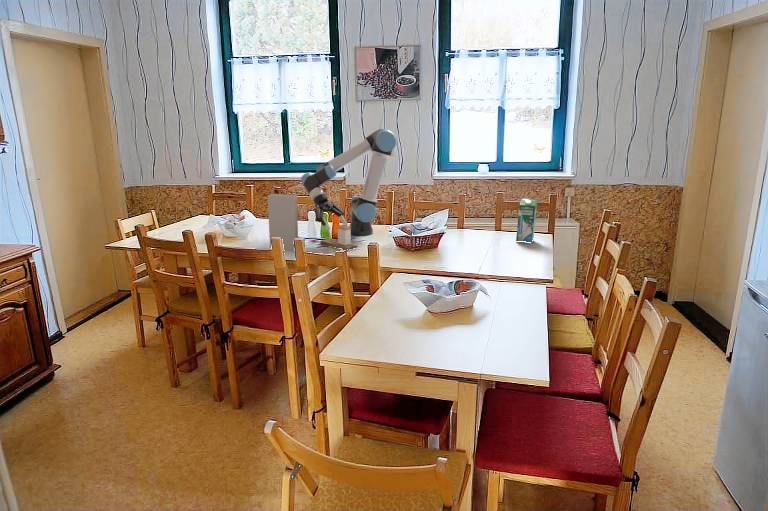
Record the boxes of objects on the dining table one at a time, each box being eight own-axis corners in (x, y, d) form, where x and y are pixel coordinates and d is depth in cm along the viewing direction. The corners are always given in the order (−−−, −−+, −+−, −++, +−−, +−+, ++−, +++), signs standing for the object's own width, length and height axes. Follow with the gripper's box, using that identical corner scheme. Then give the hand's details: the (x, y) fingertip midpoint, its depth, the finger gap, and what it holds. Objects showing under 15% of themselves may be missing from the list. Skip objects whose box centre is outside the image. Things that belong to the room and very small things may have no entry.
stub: (343, 242, 286) (342, 224, 283) (350, 244, 282) (350, 226, 279) (337, 243, 283) (337, 225, 280) (345, 245, 279) (345, 227, 276)
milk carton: (515, 242, 302) (519, 200, 295) (518, 238, 310) (521, 198, 303) (531, 244, 299) (535, 201, 292) (533, 240, 307) (537, 199, 300)
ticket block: (330, 241, 296) (330, 238, 295) (357, 248, 282) (357, 244, 281) (320, 244, 290) (320, 240, 289) (347, 251, 276) (347, 247, 276)
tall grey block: (298, 249, 279) (296, 194, 270) (295, 251, 273) (294, 196, 265) (273, 248, 280) (270, 193, 272) (270, 250, 275) (267, 195, 266)
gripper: (331, 198, 299) (349, 227, 294) (298, 204, 280) (317, 235, 275) (337, 190, 294) (356, 220, 289) (304, 195, 276) (324, 227, 271)
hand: (337, 227), depth 282 cm, fingers open, 13 cm apart
